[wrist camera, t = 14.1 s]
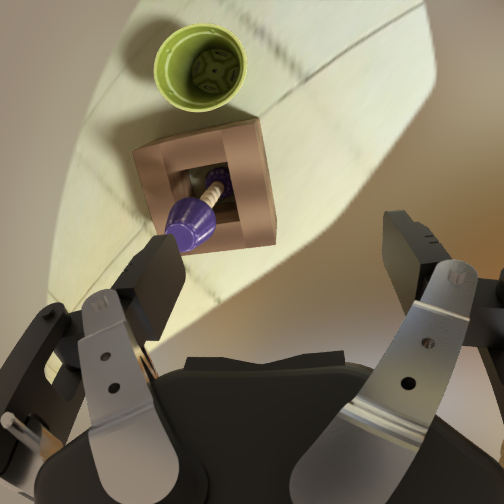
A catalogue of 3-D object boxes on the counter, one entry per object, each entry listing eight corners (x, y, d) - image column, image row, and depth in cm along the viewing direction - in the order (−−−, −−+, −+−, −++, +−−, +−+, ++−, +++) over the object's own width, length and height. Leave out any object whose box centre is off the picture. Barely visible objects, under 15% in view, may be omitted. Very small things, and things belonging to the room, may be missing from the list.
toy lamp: (201, 196, 41) (157, 260, 27) (201, 163, 39) (152, 212, 24) (236, 198, 41) (210, 265, 26) (237, 164, 38) (209, 215, 24)
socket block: (154, 140, 37) (131, 151, 31) (259, 117, 35) (254, 123, 29) (180, 233, 44) (165, 257, 38) (276, 220, 42) (275, 244, 36)
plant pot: (264, 46, 30) (259, 33, 23) (242, 115, 35) (231, 122, 28) (191, 31, 30) (167, 17, 22) (172, 98, 35) (144, 102, 27)
